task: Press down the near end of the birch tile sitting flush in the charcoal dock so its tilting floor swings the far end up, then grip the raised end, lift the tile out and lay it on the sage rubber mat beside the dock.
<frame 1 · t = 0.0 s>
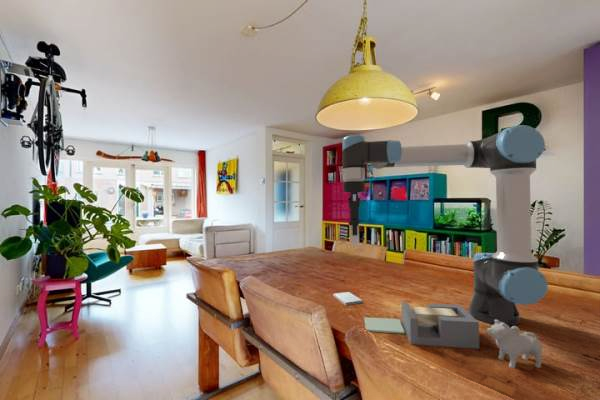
hand: (354, 242, 98), 28 cm above the table, tool pointing down, fingers open, 13 cm apart
mat: (383, 325, 96), on the table
tile: (434, 320, 89), point 4 cm above the table, touching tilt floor
animal figurine: (515, 363, 74), on the table
hard drive: (347, 300, 123), on the table
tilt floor: (435, 320, 89), point 5 cm above the table, hinge at 0.0°, touching tile
dock: (436, 335, 89), on the table
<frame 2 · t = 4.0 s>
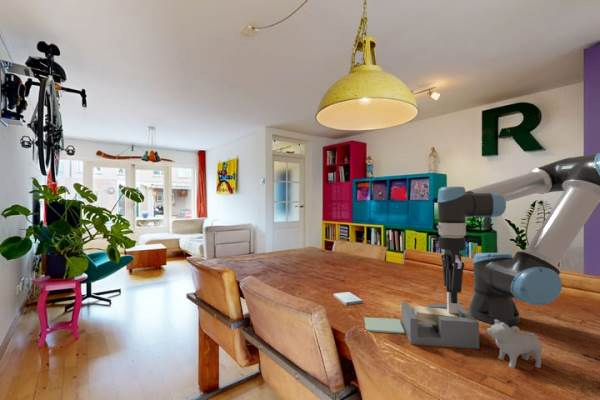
hand: (452, 312, 88), 7 cm above the table, tool pointing down, fingers closed
tile: (433, 320, 89), point 5 cm above the table, touching gripper, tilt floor
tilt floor: (435, 320, 89), point 5 cm above the table, hinge at 4.1°, touching tile
everything else where it was.
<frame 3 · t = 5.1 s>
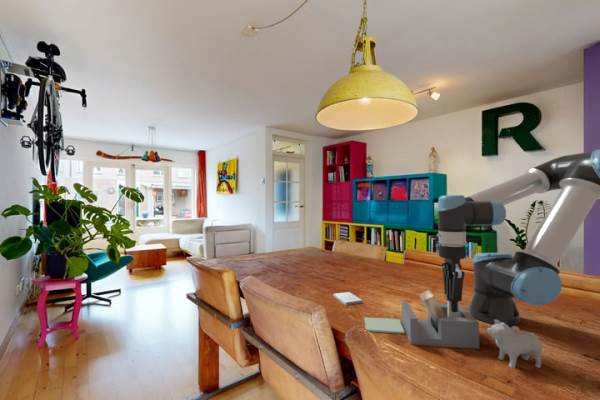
hand: (453, 320, 88), 5 cm above the table, tool pointing down, fingers closed
tile: (432, 314, 89), point 7 cm above the table, tilted 61°, touching gripper, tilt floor
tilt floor: (433, 315, 89), point 6 cm above the table, hinge at 61.5°, touching tile
everything else where it was.
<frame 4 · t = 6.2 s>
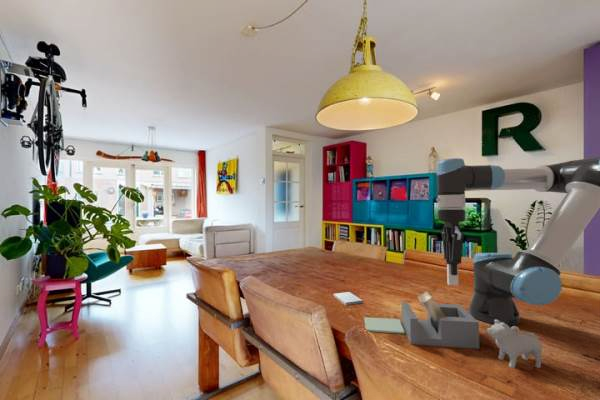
hand: (452, 284, 88), 16 cm above the table, tool pointing down, fingers closed
tile: (432, 315, 89), point 6 cm above the table, tilted 55°, touching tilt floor
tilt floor: (433, 315, 89), point 6 cm above the table, hinge at 55.3°, touching tile
everything else where it was.
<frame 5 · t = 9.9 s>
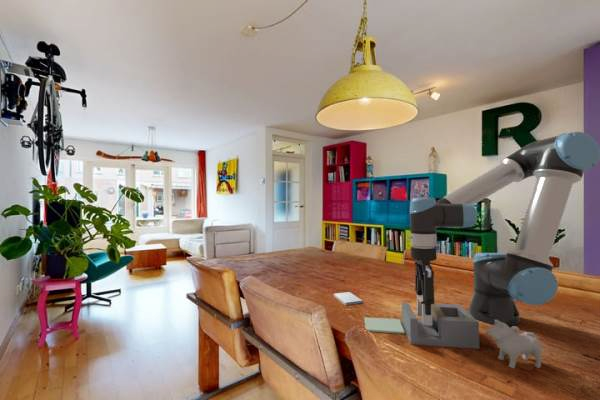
hand: (424, 319, 90), 5 cm above the table, tool pointing down, fingers closed on tile, 6 cm apart
tile: (432, 315, 89), point 6 cm above the table, tilted 54°, touching gripper
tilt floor: (433, 315, 89), point 6 cm above the table, hinge at 54.1°
everything else where it was.
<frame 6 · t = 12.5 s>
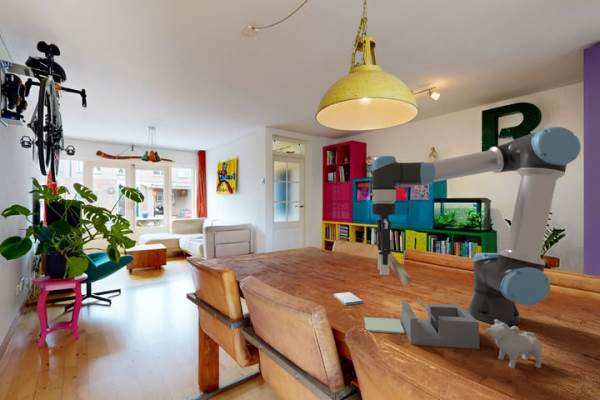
hand: (383, 271, 95), 19 cm above the table, tool pointing down, fingers closed on tile, 6 cm apart
tile: (391, 267, 95), point 20 cm above the table, tilted 55°, touching gripper
everything else where it was.
when the fingers open (7 cm above the table, at t = 15.2 s): tile drops 8 cm, resting on mat.
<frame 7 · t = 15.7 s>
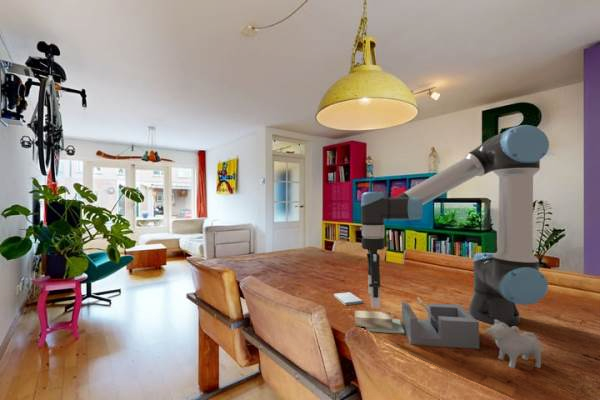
hand: (373, 299, 97), 9 cm above the table, tool pointing down, fingers open, 13 cm apart
tile: (372, 323, 97), point 1 cm above the table, touching mat
everything else where it was.
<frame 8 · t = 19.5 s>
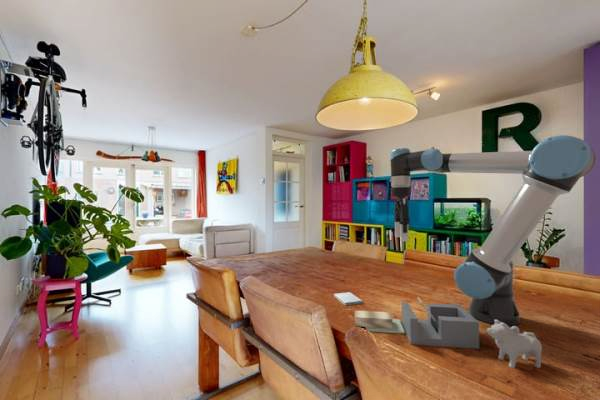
hand: (401, 239, 116), 27 cm above the table, tool pointing down, fingers open, 13 cm apart
nothing on the table moved.
at the end: tile inside the target area (2.9 cm from its centre), point 0.6 cm above the table; the gripper is holding nothing; tile tilted 0° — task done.
